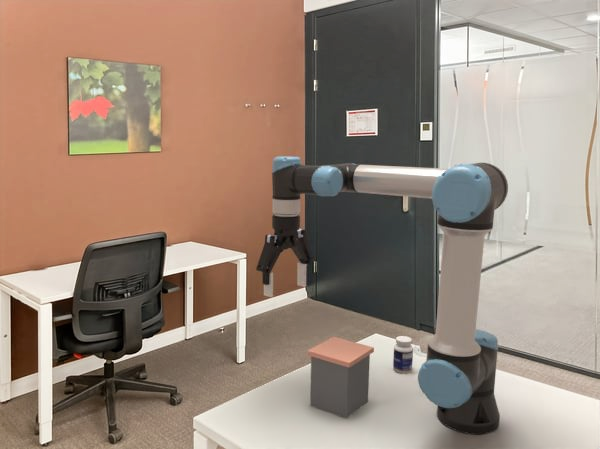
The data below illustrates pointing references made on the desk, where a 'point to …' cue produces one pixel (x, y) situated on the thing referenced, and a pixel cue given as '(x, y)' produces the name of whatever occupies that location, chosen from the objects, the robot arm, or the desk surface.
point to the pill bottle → (403, 355)
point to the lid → (340, 351)
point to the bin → (339, 386)
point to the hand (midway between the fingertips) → (285, 290)
